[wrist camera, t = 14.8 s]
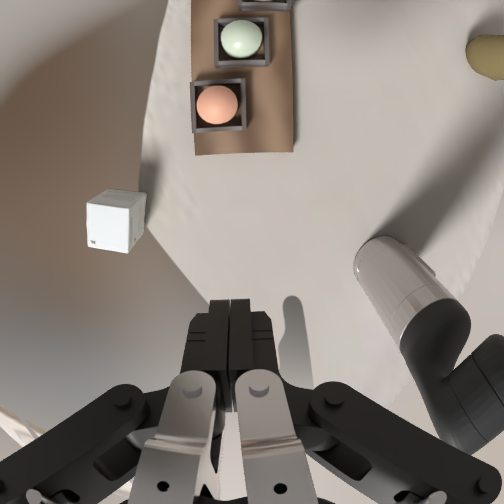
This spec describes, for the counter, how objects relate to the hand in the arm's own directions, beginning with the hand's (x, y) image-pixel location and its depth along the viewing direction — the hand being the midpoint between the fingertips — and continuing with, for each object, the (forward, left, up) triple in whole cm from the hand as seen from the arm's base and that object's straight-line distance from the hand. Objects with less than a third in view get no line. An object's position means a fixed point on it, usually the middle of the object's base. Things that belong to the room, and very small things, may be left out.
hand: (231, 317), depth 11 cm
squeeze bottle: (-40, -23, -29) cm, 55 cm away
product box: (+16, +4, -29) cm, 34 cm away
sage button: (-1, -17, -26) cm, 31 cm away
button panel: (-1, -17, -29) cm, 34 cm away
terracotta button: (+2, -9, -26) cm, 28 cm away
